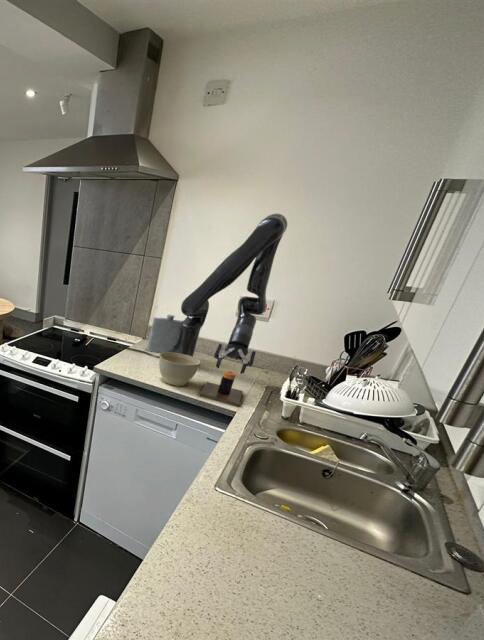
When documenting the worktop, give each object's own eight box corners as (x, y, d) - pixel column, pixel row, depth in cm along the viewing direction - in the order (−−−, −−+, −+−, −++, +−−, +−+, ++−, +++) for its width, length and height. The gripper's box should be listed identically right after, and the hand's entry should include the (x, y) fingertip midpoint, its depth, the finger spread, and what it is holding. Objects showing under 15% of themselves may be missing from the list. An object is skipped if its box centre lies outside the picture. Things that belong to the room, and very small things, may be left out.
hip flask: (176, 353, 208) (186, 316, 200) (178, 355, 205) (187, 318, 197) (146, 348, 211) (154, 312, 203) (147, 351, 207) (155, 314, 199)
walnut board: (199, 395, 157) (200, 393, 157) (206, 384, 170) (206, 381, 169) (237, 406, 151) (238, 403, 150) (241, 393, 163) (242, 390, 163)
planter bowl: (201, 386, 167) (208, 362, 163) (176, 392, 159) (183, 367, 155) (170, 372, 180) (176, 350, 175) (146, 377, 172) (151, 354, 167)
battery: (217, 392, 159) (223, 371, 155) (218, 389, 162) (225, 368, 159) (228, 395, 157) (235, 374, 153) (230, 392, 160) (236, 371, 156)
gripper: (223, 328, 162) (211, 361, 158) (262, 336, 156) (250, 370, 151) (221, 338, 169) (209, 370, 164) (258, 346, 162) (247, 379, 158)
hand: (229, 370), depth 158 cm, fingers open, 8 cm apart
